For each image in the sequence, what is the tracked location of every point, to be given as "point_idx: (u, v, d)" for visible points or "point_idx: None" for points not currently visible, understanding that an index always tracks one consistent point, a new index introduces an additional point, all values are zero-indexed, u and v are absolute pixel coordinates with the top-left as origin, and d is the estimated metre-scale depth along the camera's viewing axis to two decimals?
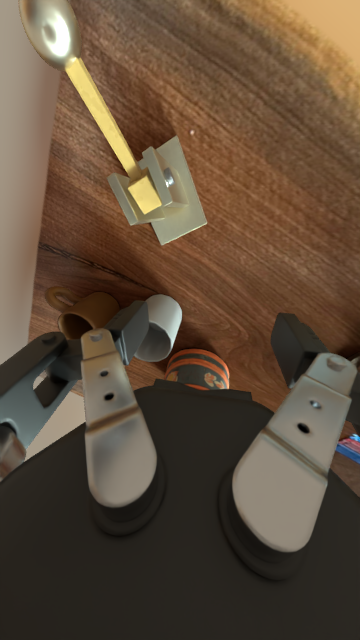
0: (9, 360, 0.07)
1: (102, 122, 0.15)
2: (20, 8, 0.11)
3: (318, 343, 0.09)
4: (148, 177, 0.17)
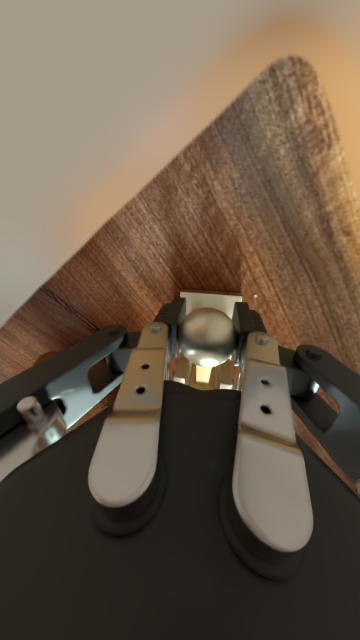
0: (78, 343, 0.08)
1: (202, 370, 0.14)
2: (189, 342, 0.09)
3: (260, 326, 0.10)
4: None
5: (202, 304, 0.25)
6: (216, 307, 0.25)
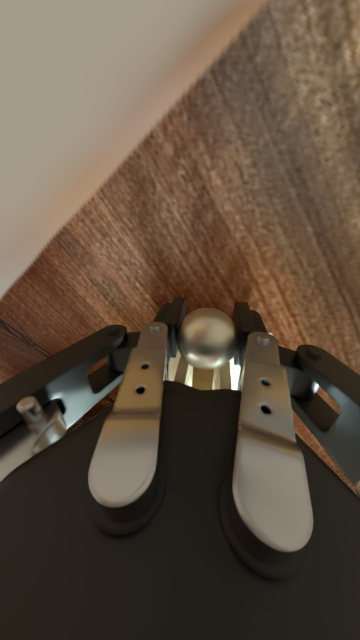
0: (78, 343, 0.08)
1: None
2: (191, 320, 0.09)
3: (260, 326, 0.10)
4: None
5: None
6: None
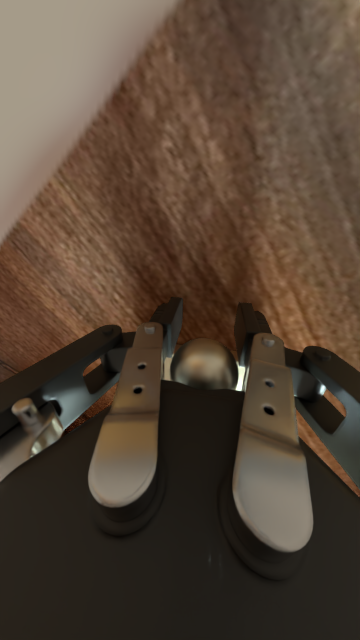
0: (73, 344, 0.08)
1: None
2: (187, 349, 0.08)
3: (265, 327, 0.10)
4: None
5: None
6: None
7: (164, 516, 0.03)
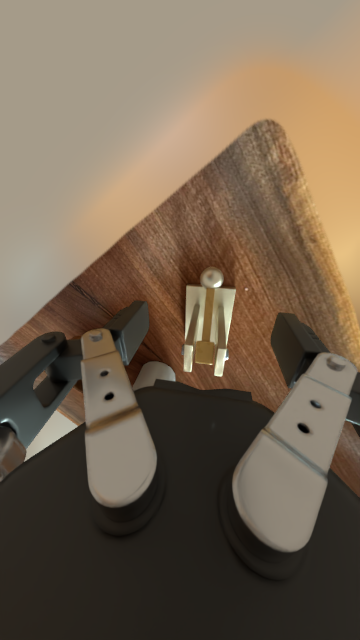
0: (9, 360, 0.07)
1: (208, 309, 0.25)
2: (206, 268, 0.25)
3: (318, 343, 0.09)
4: None
5: (204, 296, 0.32)
6: (215, 298, 0.31)
7: (164, 516, 0.03)
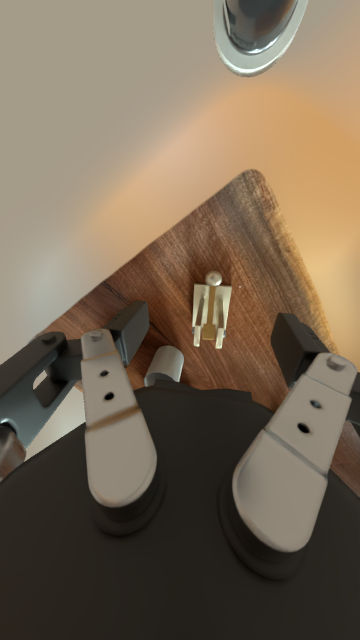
0: (9, 360, 0.07)
1: (211, 301, 0.35)
2: (210, 272, 0.35)
3: (318, 343, 0.09)
4: None
5: (207, 292, 0.41)
6: (216, 293, 0.41)
7: (164, 516, 0.03)
